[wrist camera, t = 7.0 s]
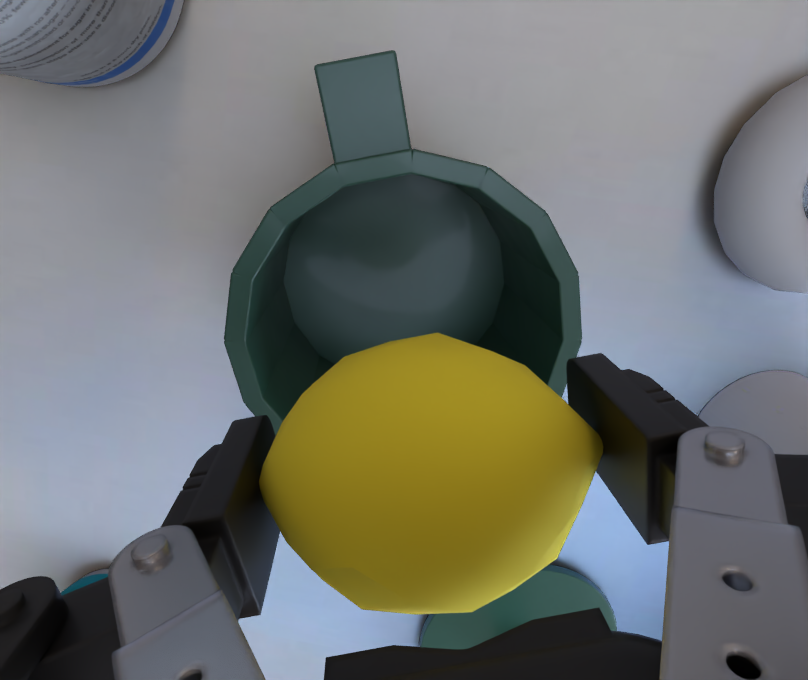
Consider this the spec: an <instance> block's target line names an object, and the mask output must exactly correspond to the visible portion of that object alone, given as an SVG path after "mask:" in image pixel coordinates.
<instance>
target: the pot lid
mask: <svg viewBox="0 0 808 680" xmlns="http://www.w3.org/2000/svg"><path fill="white" fill-rule="evenodd" d="M593 608H600V610H601V612H602V614H603V616H604V618H605V620H606V622H607V624H608V626H609V628H610V630H611V631H617V626H616V619H615V616H614V613H613V610H612V608H611V606H610V604H609V602H608V600H607V599H606V597H605V595H604V594H603V593H602V591H601V590H600V589H599V588H598V587H597V586H596V585H595V584H594V583H593V582H591V581H590V580H589V579H587V578H585V577H584V576H582V575H581V574H578V573H576V572H574V571H572V570H569V569H566V568H563V567H560V566H554V565H547V566H546V567H544V568H543V569H542V570H540V571H539V572H537V573H536V574H535V575H533V576H532V577H530V578H529V579H528V580H526V581H525V582H523V583H522V584H521V585H519V586H518V587H516V588H515V589H514V590H512V591H510V592H508V593H506V594H505V595H503V596H501V597H499V598H497V599H495V600H493V601H492V602H490V603H488V604H486V605H484V606H482V607H480V608H479V609H477V610H475V611H473V612H466V613H440V614H429V616H428V618H427V619H426V621H425V624H424V626H423V629H422V632H421V637H420V647H427V648H443V649H468V648H471V647H473V646H476V645H478V644H480V643H482V642H484V641H487V640H489V639H491V638H493V637H495V636H497V635H500V634H502V633H504V632H506V631H508V630H511V629H513V628H515V627H517V626H519V625H522V624H524V623H526V622H528V621H530V620H533V619H539V618H544V617H550V616H555V615H561V614H566V613H571V612H577V611H582V610H588V609H593Z"/></svg>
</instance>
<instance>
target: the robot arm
mask: <svg viewBox="0 0 808 680" xmlns="http://www.w3.org/2000/svg"><path fill="white" fill-rule="evenodd" d="M566 373H567V388H568V403H569V406H570V407H571V408H572V409H573V410H574V411H575V412H576V413H577V414H578V415H579V416H580V417H581V418H583V419H584V420H585V421H586V422H587V423H588V424H589V425H590V426H591V427H592V428H593V429H594V430H595V431H596V432H597V433H598V434H599V436H600V438H601V440H602V443H603V454H602V456H601V459H600V461H599V464H598V466H597V469H596V471H597V473H598V474H599V476H600V477H601V479H602V480H603V482H604V483H605V484H606V486H607V487H608V489H609V490H610V492H611V493H612V494H613V496H614V497H615V499H616V500H617V502H618V503H619V504H620V506H621V507H622V509H623V510H624V512H625V513H626V515H627V516H628V517H629V519H630V520H631V522H632V523H633V525H634V526H635V527H636V529H637V530H638V532H639V533H640V535H641V536H642V537H643V539H644V540H645V542H646V543H647V545H650V544H655V543H661V542H666V541H669V552H668V565H667V579H666V593H665V607H664V621H663V635H662V641H660V640H657V639H653V638H650V637H646V636H643V635H639V634H633V633H627V632H621V631H611V630H610V628H609V626H608V624H607V622H606V620H605V618H604V616H603V614H602V612H601V610H600V608H593V609H588V610H582V611H577V612H571V613H566V614H561V615H555V616H550V617H544V618H539V619H533V620H530V621H528V622H526V623H524V624H522V625H519V626H517V627H515V628H513V629H511V630H508V631H506V632H504V633H502V634H500V635H497V636H495V637H493V638H491V639H489V640H487V641H484V642H482V643H480V644H478V645H476V646H473V647H471V648H468V649H443V648H427V647H411V646H396V645H392V646H386V647H381V648H376V649H370V650H365V651H359V652H354V653H348V654H343V655H338V656H332V657H327V658H326V662H325V673H324V680H808V455H792V454H774V452H773V450H772V448H771V447H770V446H769V445H768V444H767V443H766V442H765V441H764V440H762V439H761V438H759V437H757V436H755V435H753V434H750V433H748V432H745V431H742V430H738V429H734V428H728V427H718V426H709V425H707V424H706V423H705V422H704V421H702V420H701V419H700V418H699V417H698V416H696V415H695V414H694V413H693V412H692V411H690V410H689V409H688V408H687V407H685V406H684V405H683V404H682V403H681V402H679V401H678V400H675V399H674V397H673V396H672V395H671V394H670V393H668V392H667V391H666V390H663V388H662V387H661V386H660V385H659V384H658V383H656V382H655V381H654V380H653V379H651V378H650V377H648V376H646V375H643V374H641V373H638V372H635V371H633V370H630V369H626V370H620V369H619V368H618V367H617V366H616V365H615V364H614V363H612V362H611V361H610V360H609V359H608V358H607V357H606V356H605V355H603V354H602V353H598V354H593V355H588V356H582V357H577V358H572V359H569V360H568V361H567V365H566ZM275 437H276V436H275V433H274V429H273V426H272V423H271V421H270V419H269V417H268V416H267V415H261V416H256V417H251V418H245V419H240V420H235V421H233V422H232V424H231V426H230V428H229V430H228V432H227V434H226V436H225V438H224V440H223V442H222V444H218V445H214V446H213V447H211V448H210V449H209V450H208V451H207V452H206V453H205V454H204V455H203V456H202V457H201V458H199V459H198V461H197V462H196V464H195V466H194V468H193V470H192V471H191V473H190V478H188V479H187V481H186V482H185V484H184V486H183V490H182V491H180V493H179V495H178V497H177V499H176V500H175V502H174V504H173V506H172V508H171V510H170V511H169V513H168V515H167V517H166V519H165V520H164V522H163V524H162V526H161V528H158V529H155V530H152V531H150V532H148V533H146V534H144V535H142V536H140V537H139V538H137V539H136V540H134V541H132V542H131V543H130V544H129V545H127V546H126V547H125V548H124V549H123V550H122V551H121V552H120V553H119V554H118V555H117V556H116V557H115V559H114V560H113V562H112V563H111V565H110V567H109V571H108V577H106V578H104V579H101V580H99V581H96V582H94V583H91V584H89V585H86V586H84V587H82V588H79V589H77V590H74V591H72V592H69V593H67V594H64V595H61V593H60V591H59V589H58V588H57V586H56V584H55V582H54V580H52V579H51V578H49V577H44V576H38V577H31V578H27V579H24V580H21V581H18V582H15V583H13V584H11V585H9V586H7V587H5V588H3V589H1V590H0V680H265V678H264V675H263V673H262V671H261V669H260V667H259V665H258V663H257V661H256V659H255V657H254V655H253V652H252V650H251V648H250V646H249V644H248V642H247V640H246V638H245V636H244V634H243V632H242V630H241V627H240V625H239V623H238V620H239V619H240V618H246V617H251V616H256V615H261V610H262V606H263V602H264V597H265V593H266V589H267V585H268V580H269V576H270V572H271V568H272V563H273V559H274V555H275V550H276V546H277V542H278V538H279V533H280V529H279V527H278V526H277V524H276V522H275V520H274V518H273V517H272V515H271V513H270V511H269V509H268V508H267V506H266V504H265V502H264V500H263V497H262V494H261V491H260V486H259V479H260V475H261V471H262V466H263V463H264V461H265V459H266V457H267V455H268V452H269V450H270V448H271V446H272V444H273V441H274V439H275Z"/></svg>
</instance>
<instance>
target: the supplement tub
mask: <svg viewBox="0 0 808 680" xmlns="http://www.w3.org/2000/svg"><path fill="white" fill-rule="evenodd" d="M183 1H184V0H0V73H2V74H6V75H11V76H16V77H21V78H26V79H30V80H35V81H40V82H45V83H51V84H58V85H64V86H72V87H94V86H101V85H106V84H111V83H115V82H118V81H120V80H123V79H125V78H128V77H130V76H131V75H133V74H135V73H137V72H138V71H140V70H141V69H143V68H144V67H145V66H147V65H148V64H149V63H150V62H151V61H152V60H153V59H154V58H155V57H156V56H157V55H158V54H159V53H160V52H161V50H162V49H163V48H164V47H165V45H166V43H167V42H168V40H169V39H170V37H171V35H172V34H173V32H174V29H175V27H176V25H177V22H178V19H179V16H180V13H181V10H182V6H183Z"/></svg>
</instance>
